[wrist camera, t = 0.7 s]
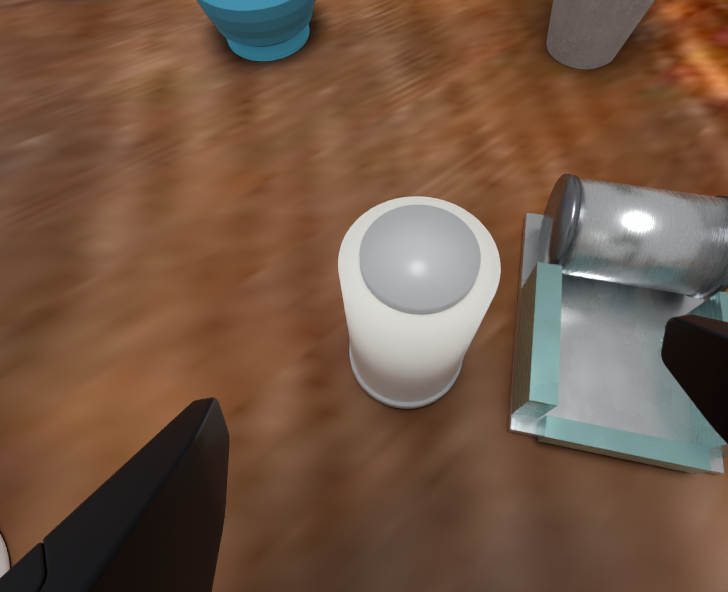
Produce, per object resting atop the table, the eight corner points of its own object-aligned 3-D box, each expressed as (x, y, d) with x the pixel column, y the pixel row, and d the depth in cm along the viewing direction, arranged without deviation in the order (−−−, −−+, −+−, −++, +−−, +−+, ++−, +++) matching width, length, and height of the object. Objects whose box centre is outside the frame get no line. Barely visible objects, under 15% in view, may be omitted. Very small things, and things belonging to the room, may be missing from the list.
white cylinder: (478, 387, 24) (542, 297, 14) (374, 428, 23) (369, 362, 14) (431, 293, 26) (460, 165, 17) (335, 328, 26) (309, 213, 16)
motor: (716, 481, 21) (820, 467, 16) (507, 437, 23) (543, 412, 18) (689, 242, 27) (761, 177, 22) (524, 217, 28) (555, 149, 23)
